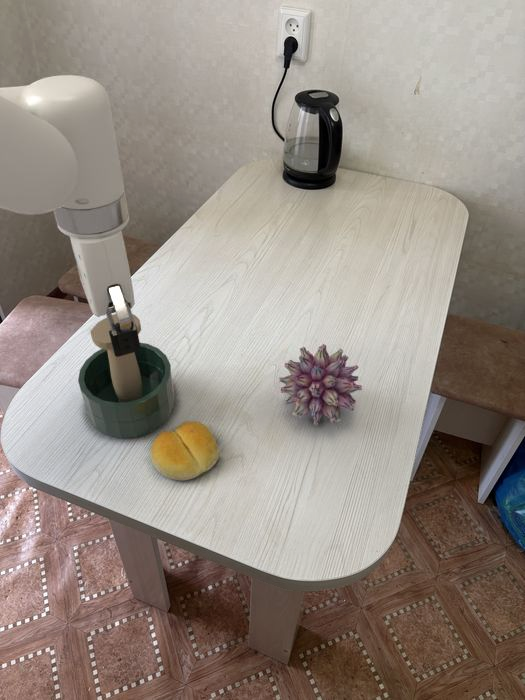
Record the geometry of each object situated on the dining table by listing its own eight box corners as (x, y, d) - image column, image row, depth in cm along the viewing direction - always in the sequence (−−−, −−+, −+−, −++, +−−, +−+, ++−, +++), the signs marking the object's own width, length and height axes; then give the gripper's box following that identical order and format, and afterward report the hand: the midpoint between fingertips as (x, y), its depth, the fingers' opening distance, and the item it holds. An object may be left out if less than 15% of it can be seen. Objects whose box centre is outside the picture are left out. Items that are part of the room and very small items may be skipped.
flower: (362, 419, 77) (317, 456, 69) (302, 377, 83) (254, 406, 75) (389, 361, 71) (343, 395, 63) (322, 319, 76) (272, 344, 68)
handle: (103, 405, 75) (83, 330, 64) (138, 382, 78) (124, 307, 68) (123, 423, 73) (105, 348, 62) (158, 399, 76) (147, 324, 66)
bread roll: (143, 448, 70) (139, 430, 67) (201, 423, 74) (200, 405, 71) (166, 494, 65) (164, 477, 62) (228, 465, 69) (228, 448, 66)
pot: (98, 450, 70) (89, 418, 65) (80, 387, 78) (70, 355, 73) (185, 421, 74) (182, 389, 69) (160, 365, 82) (155, 332, 77)
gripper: (41, 179, 58) (75, 297, 70) (70, 259, 47) (104, 382, 59) (107, 169, 60) (129, 284, 72) (149, 242, 49) (166, 363, 61)
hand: (118, 328), depth 66 cm, fingers open, 9 cm apart
